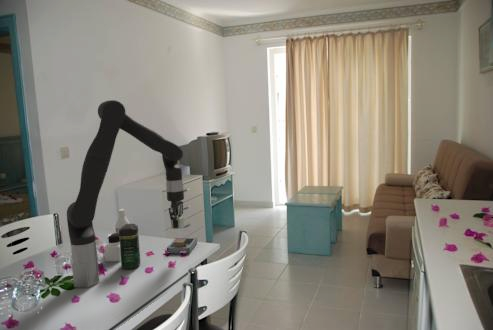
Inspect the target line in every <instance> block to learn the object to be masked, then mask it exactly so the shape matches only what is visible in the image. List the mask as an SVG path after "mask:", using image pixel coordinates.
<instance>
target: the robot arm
mask: <svg viewBox="0 0 493 330" xmlns="http://www.w3.org/2000/svg"><path fill="white" fill-rule="evenodd" d="M97 115H98V117H99V119H100V123H99V126H98V127H99V128H98V131H97V133H96V135H95V137H94V139H93V141H92V142H91V144H90V146H89V148H88V149H87V152H86V154H85V157H84V160H83V163H82V169H81V174H80V187H79V191H78V195H77V196H76V199H75V201H73V202H72V203H71V204H70V205H69V206H68V207H67V209H66V221H67V229H68V231H67V232H68V236H69V241H70V248H71V260H72V264H71V269H72V279H73V287H74V288H90V287H92V286H94V285H96V284H98V283H99V282H100V271H99V264H98V263H99V262H98V261H99V260H98V251H97V242H96V234H95V229H94V224H93V220H94V218H95V214H96V209H97V203H98V201H99V195H100V193H101V189H102V186H103V184H104V180H105V178H106V175H107V173H108V169H109V165H110V163H111V159H112V154H113V151H114V149H115V148H114V147H115V143H116V139H117V136H118V134H119V132H120V130H122V131H124V132H126V133H127V134H128V135H130V136H131V137H133V138H134V139H136V140H138V141H139V142H141V143H142V144H144V145H145V146H146V147H148V148H149V149H151V150H153V151H154V152H157V153H160V154H161V159H162V162H163V167H164V170H165V179H166V181H165V184H166V185H165V187H166V190H165V191H166V200H167V202H170V203H171V204H170V207H169V208H168V214H169V217H170V221H171V220H173V228H178V216H183V214H184V201H183V200H184V199H185V191H184V182H183V172H182V167H180V165H179V163H178V162H179V161H180V160H182V158H183V157H184V156H183V155H184V153H183V152H184V151H183V150H182V148H181V147H180V146H179V145H178V144H176V143H174V142H172V141H171V140H168V139H166V138H165V137H164V136H162V135H161V134H160V133H158V132H156V131H155V130H154V129H151V128H150V127H148V126H146V125H145V124H142V123H141V122H139V121H137V120H135V119H133V117H131V116H129V115H128V114H127V113H126V107H125V106H124V104H123V103H121V101H119V100H116V99H114V100H113V99H112V100H105V101H104V102H101V103H100V105H99V106H98V107H97Z"/></svg>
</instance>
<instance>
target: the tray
mask: <svg viewBox="0 0 493 330" xmlns="http://www.w3.org/2000/svg"><path fill="white" fill-rule="evenodd" d="M177 239H186V247H175V245H174V242H175V241H176V240H177ZM197 244H198V238H197V237H175V238H174V239H173V241H172V242H171V243H170V244H169V245H167V247H166V253H167V252H169V253H170V254H169V255H181V254H180V252H181V251H186V253H187V254H186V255H190V254H191V253H192V252H193V250H194V248H195V247H196V246H197Z"/></svg>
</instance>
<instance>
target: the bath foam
mask: <svg viewBox="0 0 493 330" xmlns="http://www.w3.org/2000/svg"><path fill="white" fill-rule="evenodd" d="M125 224H131V223H130V221H129V220H128V218H127V217H126V212H125V208H119V209H118V218H117V220H116V222H115V233H119V230H120V228H121V227H122V226H124V225H125Z"/></svg>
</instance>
